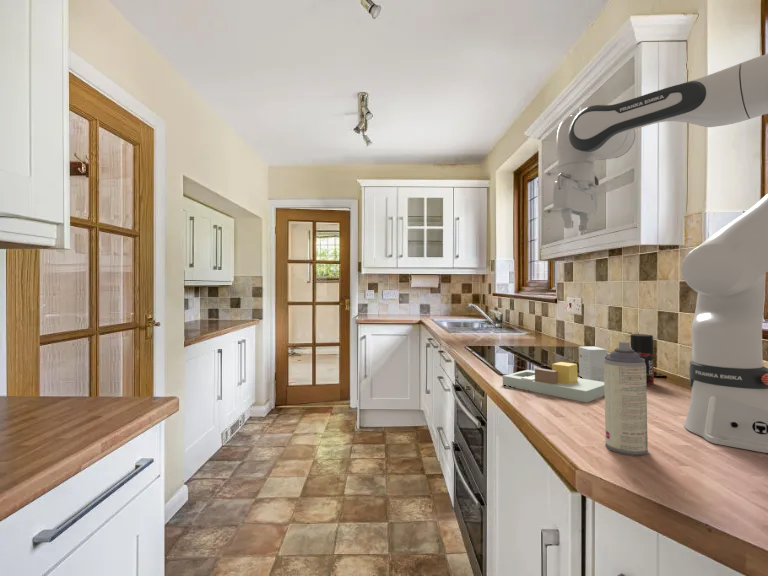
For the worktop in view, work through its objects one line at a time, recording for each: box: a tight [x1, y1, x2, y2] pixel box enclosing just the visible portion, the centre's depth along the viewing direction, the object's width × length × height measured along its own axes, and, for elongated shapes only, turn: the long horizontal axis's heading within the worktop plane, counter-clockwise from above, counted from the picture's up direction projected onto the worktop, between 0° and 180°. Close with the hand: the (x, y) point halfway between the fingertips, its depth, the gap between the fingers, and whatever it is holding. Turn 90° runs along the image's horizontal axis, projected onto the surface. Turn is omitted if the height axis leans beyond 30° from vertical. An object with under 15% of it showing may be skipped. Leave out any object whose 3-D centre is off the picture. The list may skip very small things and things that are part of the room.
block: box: [551, 361, 579, 384], centre depth 118 cm, size 5×5×5 cm
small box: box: [578, 345, 608, 382], centre depth 132 cm, size 8×6×10 cm
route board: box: [502, 367, 605, 404], centre depth 121 cm, size 26×14×6 cm, turn 38°
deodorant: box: [630, 333, 655, 386], centre depth 127 cm, size 6×6×15 cm
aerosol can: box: [604, 341, 649, 457], centre depth 76 cm, size 7×7×20 cm
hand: (576, 229), depth 108 cm, fingers open, 8 cm apart
